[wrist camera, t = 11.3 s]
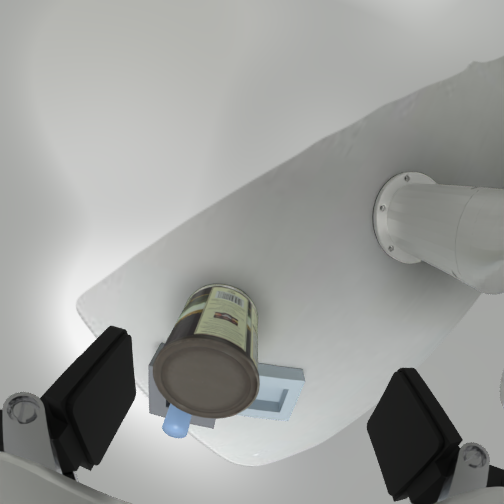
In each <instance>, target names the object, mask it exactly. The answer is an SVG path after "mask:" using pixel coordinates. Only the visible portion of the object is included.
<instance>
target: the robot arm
mask: <svg viewBox="0 0 504 504" xmlns="http://www.w3.org/2000/svg"><path fill="white" fill-rule="evenodd" d="M404 177H405V180H404ZM380 206H381V209H380ZM373 222H374V230H375V234H376V237H377V240H378V242H379V244H380V245H381V247H382V249H383V250H384V251H385V252H386V253H387V254H388V255H389V256H391V257H392V258H394V259H395V260H397V261H399V262H402V263H407V264H414V263H418V262H421V261H424V262H426V263H428V264H430V265H432V266H434V267H436V268H438V269H440V270H441V271H443V272H445V273H447V274H449V275H451V276H453V277H454V278H456V279H458V280H460V281H462V282H463V283H465V284H467V285H469V286H471V287H472V288H474V289H476V290H478V291H480V292H483V293H486V294H500V293H504V189H497V188H485V187H474V186H460V185H444V184H437V183H436V182H435V181H434V180H433V179H432V178H430V177H429V176H427V175H425V174H422V173H419V172H404V173H401V174H398V175H396V176H394V177H393V178H391V179H390V180H389V181H388V182H387V183H386V184H385V185H384V187H383V188H382V189H381V191H380V193H379V195H378V197H377V199H376V203H375V207H374V215H373ZM389 246H390V247H389ZM388 248H389V249H388ZM135 396H136V387H135V378H134V367H133V354H132V339H131V336H130V335H128V334H127V331H126V330H125V329H121V328H118V327H114V326H109V327H108V328H107V329H106V330H105V331H104V332H103V333H102V334H101V335H100V336H99V337H98V338H97V339H96V340H95V341H94V342H93V343H92V344H91V345H90V346H89V347H88V348H87V350H86V351H85V352H84V353H83V354H82V355H81V356H79V357H78V358H77V359H76V360H75V361H74V363H72V364H71V365H70V367H69V368H68V369H67V370H66V371H65V372H64V373H63V374H62V375H61V376H60V377H59V378H58V379H57V381H55V383H54V384H53V385H52V386H51V387H50V388H49V389H48V390H47V391H46V393H45V394H44V395H43V396H42V397H41V398H39V397H37V396H36V395H34V394H31V393H26V392H20V393H15V394H13V395H11V396H10V397H9V398H7V399H6V401H5V403H4V404H3V410H0V504H131V503H128V502H125V501H123V500H120V499H117V498H114V497H112V496H109V495H107V494H104V493H102V492H99V491H97V490H94V489H92V488H90V487H88V486H86V485H83V484H81V483H79V481H78V478H77V475H76V472H75V471H77V469H78V467H79V466H82V467H84V468H86V469H88V470H90V471H91V469H92V468H93V466H94V465H98V464H99V463H100V462H101V460H102V458H103V456H104V454H105V453H106V451H107V449H108V447H109V445H110V443H111V441H112V439H113V438H114V436H115V434H116V432H117V430H118V428H119V427H120V425H121V423H122V421H123V419H124V418H125V416H126V414H127V412H128V410H129V408H130V407H131V405H132V403H133V401H134V399H135ZM500 399H501V403H502V406H503V408H504V370H503V374H502V378H501V384H500ZM367 431H368V433H369V436H370V439H371V442H372V445H373V448H374V451H375V454H376V456H377V460H378V463H379V465H380V468H381V472H382V474H383V478H384V481H385V484H386V487H387V490H388V493H389V494H390V495H391V496H393V500H394V501H399V500H403V499H406V498H407V497H409V498H410V502H409V504H504V470H503V469H500V468H497V467H494V466H492V465H489V462H490V459H489V454H488V452H487V451H486V449H485V448H484V447H482V446H481V445H479V444H477V443H466V444H464V445H463V446H462V447H461V448H459V446H458V445H459V444H460V443H461V441H462V438H461V436H460V435H459V433H458V432H457V430H456V429H455V427H454V425H453V424H452V422H451V421H450V419H449V418H448V416H447V414H446V413H445V411H444V410H443V408H442V407H441V405H440V404H439V402H438V401H437V400H436V398H435V397H434V395H433V394H432V392H431V391H430V389H429V388H428V386H427V385H426V383H425V382H424V381H423V379H422V378H421V376H420V375H419V374H418V372H417V371H416V369H414V368H400V369H399V370H398V371H397V372H395V373H394V374H393V376H392V378H391V380H390V382H389V384H388V386H387V388H386V390H385V392H384V394H383V395H382V397H381V399H380V401H379V403H378V405H377V406H376V408H375V410H374V412H373V414H372V415H371V417H370V419H369V420H368V423H367Z"/></svg>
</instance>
